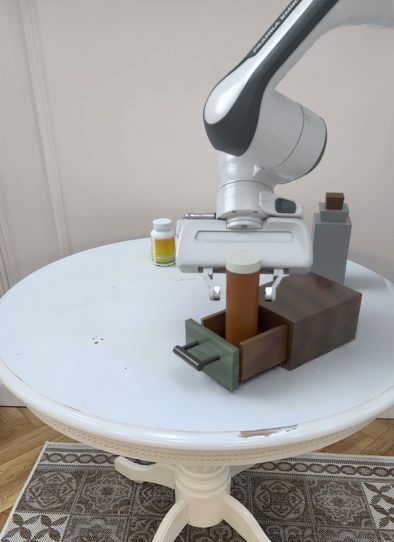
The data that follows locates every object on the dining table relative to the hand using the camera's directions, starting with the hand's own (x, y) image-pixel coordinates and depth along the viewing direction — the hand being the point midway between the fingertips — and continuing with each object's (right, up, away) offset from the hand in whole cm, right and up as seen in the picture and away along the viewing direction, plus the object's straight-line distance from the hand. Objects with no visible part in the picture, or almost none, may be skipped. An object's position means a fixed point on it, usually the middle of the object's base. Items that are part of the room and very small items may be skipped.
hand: (242, 300), depth 78 cm
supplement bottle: (-14, +12, +42) cm, 46 cm away
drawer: (-1, -9, +6) cm, 11 cm away
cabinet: (+10, -5, +13) cm, 17 cm away
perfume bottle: (+20, +6, +32) cm, 38 cm away
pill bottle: (0, -8, +6) cm, 10 cm away
